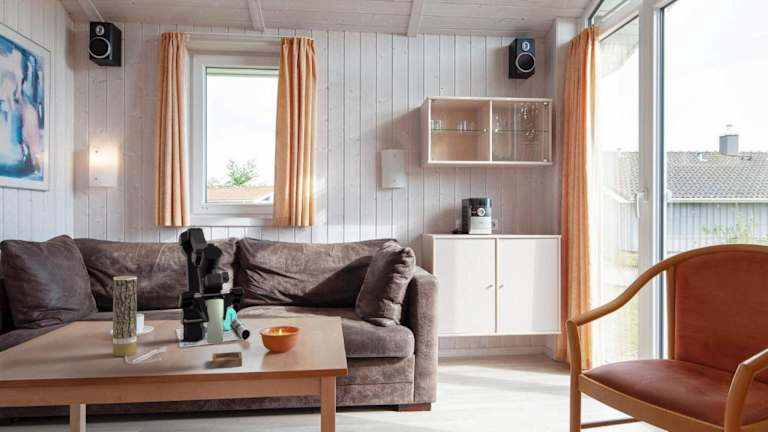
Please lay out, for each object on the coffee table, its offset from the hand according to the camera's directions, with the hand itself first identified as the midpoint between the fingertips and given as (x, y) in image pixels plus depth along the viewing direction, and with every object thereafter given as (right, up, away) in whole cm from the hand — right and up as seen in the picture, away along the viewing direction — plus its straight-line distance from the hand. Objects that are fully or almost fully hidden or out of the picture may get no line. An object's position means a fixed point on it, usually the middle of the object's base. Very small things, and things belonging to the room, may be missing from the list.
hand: (216, 320), depth 149 cm
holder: (+2, -14, +3) cm, 14 cm away
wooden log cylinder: (-34, -14, +12) cm, 38 cm away
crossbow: (-25, -14, +9) cm, 30 cm away
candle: (-1, -7, +1) cm, 7 cm away
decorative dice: (-14, -14, +49) cm, 53 cm away
